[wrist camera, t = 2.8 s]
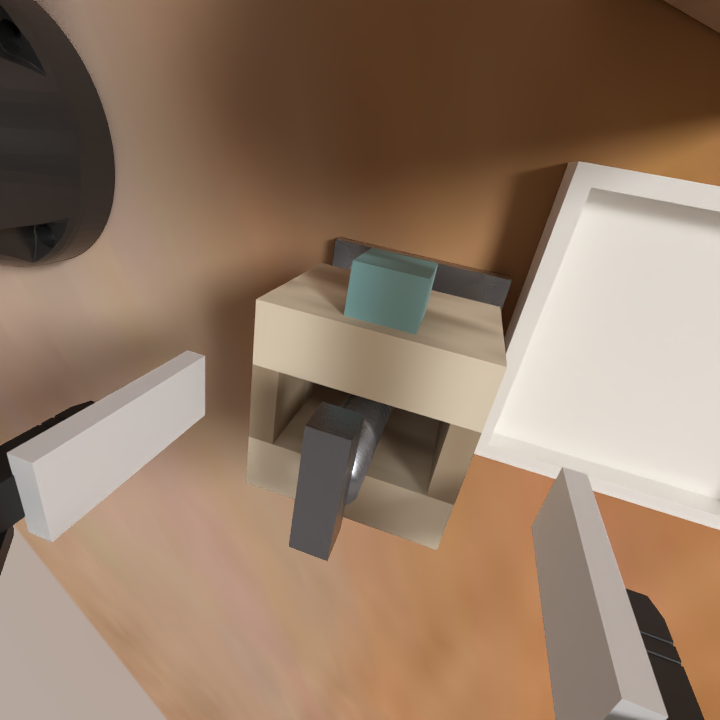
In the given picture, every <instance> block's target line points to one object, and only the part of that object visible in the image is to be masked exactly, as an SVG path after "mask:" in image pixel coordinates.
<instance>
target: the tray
mask: <svg viewBox="0 0 720 720" xmlns="http://www.w3.org/2000/svg"><path fill="white" fill-rule="evenodd" d="M504 344H505V353H506V361H507V369H506V371H505V374H504V377H503V379H502V382H501V384H500V387H499V390H498V392H497V395H496V397H495V400H494V403H493V405H492V408H491V410H490V413H489V416H488V418H487V421H486V423H485V426H484V429H483V431H482V434H481V436H480V439H479V441H478V444H477V447H476V449H475V452H474V454H477V455H480V456H483V457H486V458H490V459H493V460H496V461H499V462H503V463H506V464H509V465H512V466H515V467H519V468H522V469H525V470H528V471H532V472H535V473H538V474H541V475H544V476H548V477H551V478H554V479H556V478H557V476H558V474H559V472H560V470H561V468H562V467H565V468H568V469H571V470H575V471H578V472H581V473H584V474H587V475H588V478H589V481H590V484H591V487H592V490H593V491H596V492H599V493H602V494H606V495H609V496H612V497H615V498H619V499H622V500H625V501H628V502H631V503H635V504H638V505H641V506H644V507H648V508H651V509H654V510H657V511H660V512H664V513H667V514H670V515H673V516H677V517H680V518H683V519H686V520H689V521H693V522H696V523H699V524H702V525H706V526H709V527H712V528H715V529H718V530H720V186H714V185H708V184H703V183H697V182H692V181H686V180H681V179H675V178H670V177H664V176H658V175H653V174H647V173H642V172H636V171H631V170H625V169H620V168H614V167H609V166H603V165H597V164H592V163H586V162H581V161H576V162H569V163H568V165H567V168H566V171H565V174H564V176H563V179H562V182H561V184H560V187H559V190H558V193H557V195H556V198H555V201H554V203H553V206H552V209H551V212H550V214H549V217H548V220H547V223H546V225H545V228H544V231H543V233H542V236H541V239H540V242H539V244H538V247H537V250H536V252H535V255H534V258H533V261H532V263H531V266H530V269H529V272H528V274H527V277H526V280H525V282H524V285H523V288H522V291H521V293H520V296H519V299H518V301H517V304H516V307H515V310H514V312H513V315H512V318H511V321H510V323H509V326H508V329H507V331H506V334H505V337H504Z"/></svg>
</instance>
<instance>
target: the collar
mask: <svg viewBox="0 0 720 720" xmlns="http://www.w3.org/2000/svg"><path fill="white" fill-rule="evenodd" d="M437 267H438V263H435V262H431V261H427V260H422V259H418V258H414V257H410V256H405V255H401V254H397V253H393V252H388V251H384V250H380V249H376V248H371V249H369V250H368V251H366V252H365V253H363V254H362V255H360V256H359V257H357V258H356V259H354V260H353V262H352V268H351V270H348V269H344V268H340V267H336V266H332V265H328V264H324V263H321V264H319V265H317V266H316V267H314V268H312V269H310V270H308V271H307V272H305V273H303V274H301V275H299V276H297V277H296V278H294V279H292V280H290V281H288V282H287V283H285V284H283V285H281V286H279V287H277V288H276V289H274V290H272V291H270V292H268V293H267V294H265V295H263V296H261V297H259V298H257V299H256V311H255V329H254V348H253V366H252V385H251V403H250V422H249V440H248V459H247V477H246V482H247V483H249V484H252V485H255V486H258V487H261V488H263V489H266V490H269V491H272V492H275V493H277V494H280V495H283V496H286V497H289V498H291V499H294V500H295V497H296V489H297V481H298V474H299V466H300V459H301V451H302V444H303V436H304V429H305V425H306V424H307V422H308V421H309V419H310V418H311V417H312V415H313V414H314V412H315V411H316V409H317V408H318V407H319V405H320V404H321V402H322V401H323V402H326V403H329V404H332V405H336V406H339V407H341V406H342V404H343V403H344V401H345V399H346V398H347V396H348V394H349V393H350V394H354V395H357V396H360V397H364V398H367V399H370V400H374V401H377V402H380V403H384V404H387V405H390V406H393V407H392V410H391V412H390V415H389V417H388V420H387V422H386V425H385V427H384V430H383V432H382V435H381V438H380V440H379V443H378V445H377V448H376V450H375V453H374V455H373V458H372V460H371V463H370V465H369V468H368V470H367V473H366V475H365V478H364V481H363V483H362V486H361V488H360V491H359V493H358V496H357V497H356V499H355V500H354V501H353V502H352V503H350V504H348V505H345V510H344V514H343V517H345V518H348V519H350V520H353V521H356V522H359V523H362V524H364V525H367V526H370V527H373V528H376V529H378V530H381V531H384V532H387V533H390V534H392V535H395V536H398V537H401V538H404V539H406V540H409V541H412V542H415V543H418V544H421V545H423V546H426V547H429V548H432V549H435V550H437V548H438V545H439V543H440V540H441V537H442V535H443V532H444V530H445V527H446V525H447V522H448V519H449V517H450V514H451V512H452V509H453V506H454V504H455V501H456V499H457V496H458V493H459V491H460V488H461V486H462V483H463V480H464V478H465V475H466V473H467V470H468V467H469V465H470V462H471V460H472V457H473V454H474V452H475V449H476V447H477V444H478V441H479V439H480V436H481V434H482V431H483V429H484V426H485V423H486V421H487V418H488V416H489V413H490V410H491V408H492V405H493V403H494V400H495V397H496V395H497V392H498V390H499V387H500V384H501V382H502V379H503V377H504V374H505V371H506V369H507V361H506V353H505V344H504V335H503V327H502V318H501V309H500V307H498V306H494V305H490V304H486V303H482V302H478V301H474V300H470V299H466V298H462V297H458V296H454V295H449V294H445V293H441V292H437V291H433V290H432V286H433V282H434V278H435V274H436V271H437Z"/></svg>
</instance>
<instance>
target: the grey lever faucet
mask: <svg viewBox="0 0 720 720" xmlns="http://www.w3.org/2000/svg"><path fill="white" fill-rule="evenodd" d="M371 248H376V249H380V250H384V251H388V252H393V253H397V254H401V255H405V256H410V257H414V258H418V259H422V260H427V261H431V262H435V263H438V267H437V271H436V274H435V278H434V282H433V286H432V290H433V291H437V292H441V293H445V294H449V295H454V296H458V297H462V298H466V299H470V300H474V301H478V302H482V303H486V304H490V305H494V306H498V307H500V309H501V310H502V307H503V305H504V302H505V299H506V296H507V293H508V290H509V287H510V285H511V282H512V279H511V277H510V276H505V275H501V274H497V273H492V272H488V271H484V270H479V269H475V268H471V267H467V266H462V265H458V264H454V263H449V262H445V261H441V260H437V259H432V258H428V257H424V256H419V255H415V254H411V253H406V252H402V251H398V250H394V249H389V248H385V247H381V246H376V245H372V244H368V243H363V242H359V241H355V240H351V239H346V238H342V237H340V238H338V239H336V242H335V249H334V256H333V264H332V266H336V267H340V268H344V269H348V270H351V268H352V262H353V260H354V259H356V258H357V257H359V256H360V255H362V254H363V253H365V252H366V251H368V250H369V249H371ZM392 407H393V406H390V405H387V404H384V403H380V402H377V401H374V400H370V399H367V398H364V397H360V396H357V395H354V394H350V393H349V394H348V396H347V398H346V399H345V401H344V403H343V404H342V406H341V407H339V406H336V405H332V404H329V403H326V402H323V401H322V402H321V404H320V405H319V407H318V408H317V409H316V411H315V412H314V414H313V415H312V417H311V418H310V419H309V421H308V422H307V424H306V425H305V429H304V436H303V444H302V451H301V459H300V466H299V474H298V481H297V489H296V497H295V504H294V512H293V519H292V527H291V534H290V542H289V547H292V548H294V549H297V550H299V551H302V552H305V553H307V554H310V555H313V556H315V557H318V558H321V559H323V560H326V561H328V558H329V556H330V553H331V551H332V548H333V546H334V543H335V541H336V538H337V536H338V534H339V531H340V528H341V524H342V519H343V514H344V510H345V505H348V504H350V503H352V502H353V501H354V500H355V499H356V497H357V496H358V493H359V491H360V488H361V486H362V483H363V481H364V478H365V475H366V473H367V470H368V468H369V465H370V463H371V460H372V458H373V455H374V453H375V450H376V448H377V445H378V443H379V440H380V438H381V435H382V432H383V430H384V427H385V425H386V422H387V420H388V417H389V415H390V412H391V410H392Z"/></svg>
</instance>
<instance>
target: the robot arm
mask: <svg viewBox="0 0 720 720" xmlns="http://www.w3.org/2000/svg"><path fill="white" fill-rule="evenodd" d="M114 183H115V167H114V155H113V147H112V141H111V136H110V131H109V127H108V123H107V120H106V116H105V113H104V110H103V107H102V104H101V101H100V98H99V96H98V93H97V91H96V88H95V86H94V84H93V81H92V79H91V77H90V75H89V73H88V71H87V69H86V67H85V65H84V63H83V62H82V60H81V58H80V56H79V55H78V53H77V51H76V50H75V48H74V47H73V45H72V44H71V42H70V41H69V39H68V38H67V36H66V35H65V34H64V32H63V31H62V30H61V28H60V27H59V26H58V25H57V24H56V22H55V21H54V20H53V19H52V18H51V17H50V16H49V14H48V13H47V12H46V11H45V10H44V9H43V8H42V7H41V6H40V5H39V4H38V3H37V2H35V1H34V0H0V265H5V266H17V267H24V266H37V265H42V264H47V263H52V262H57V261H62V260H66V259H70V258H73V257H75V256H77V255H79V254H81V253H83V252H84V251H86V250H87V249H88V248H89V247H90V246H91V245H92V244H93V243H94V242H95V241H96V240H97V238H98V237H99V236H100V234H101V232H102V231H103V229H104V227H105V224H106V222H107V220H108V217H109V214H110V210H111V206H112V201H113V195H114ZM203 416H205V356H204V355H201V354H198V353H195V352H192V351H188V350H187V351H185V352H184V353H182V354H180V355H178V356H177V357H175V358H173V359H171V360H169V361H168V362H166V363H164V364H162V365H161V366H159V367H157V368H155V369H154V370H152V371H150V372H148V373H147V374H145V375H143V376H141V377H140V378H138V379H136V380H134V381H132V382H131V383H129V384H127V385H125V386H124V387H122V388H120V389H118V390H117V391H115V392H113V393H111V394H110V395H108V396H106V397H104V398H103V399H101V400H99V401H97V402H93V401H89V402H86V403H83V404H79V405H76V406H73V407H70V408H69V409H67V410H65V411H63V412H61V413H59V414H58V415H56V416H55V418H50V419H48V420H47V421H45V422H43V423H42V424H41V425H40V426H39V425H37V426H36V427H34V428H32V429H30V430H28V431H26V432H25V433H23V434H21V435H19V436H17V437H15V438H14V439H12V440H10V441H8V442H6V443H4V444H3V445H1V446H0V575H1V572H2V569H3V566H4V562H5V560H6V556H7V553H8V551H9V548H10V544H11V542H12V539H13V535H14V528H13V525H14V524H15V523H17V522H18V521H19V520H21V519H22V518H23V517H25V520H26V524H27V527H28V531H29V533H32V534H34V535H36V536H39V537H41V538H43V539H45V540H48V541H50V542H53V541H54V540H55V539H57V538H58V537H59V536H60V535H61V534H63V533H64V532H65V531H66V530H67V529H69V528H70V527H71V526H72V525H73V524H75V523H76V522H77V521H78V520H79V519H81V518H82V517H83V516H84V515H85V514H87V513H88V512H89V511H90V510H91V509H93V508H94V507H95V506H96V505H97V504H99V503H100V502H101V501H102V500H103V499H105V498H106V497H107V496H108V495H109V494H111V493H112V492H113V491H114V490H115V489H117V488H118V487H119V486H120V485H121V484H123V483H124V482H125V481H126V480H128V479H129V478H130V477H131V476H132V475H134V474H135V473H136V472H137V471H138V470H140V469H141V468H142V467H143V466H144V465H146V464H147V463H148V462H149V461H150V460H152V459H153V458H154V457H155V456H156V455H158V454H159V453H160V452H161V451H162V450H164V449H165V448H166V447H167V446H168V445H170V444H171V443H172V442H173V441H174V440H176V439H177V438H178V437H179V436H180V435H182V434H183V433H184V432H185V431H186V430H188V429H189V428H190V427H191V426H192V425H194V424H195V423H196V422H197V421H198V420H200V419H201V418H202V417H203ZM532 534H533V542H534V550H535V558H536V566H537V574H538V582H539V591H540V599H541V607H542V615H543V623H544V631H545V639H546V647H547V655H548V663H549V671H550V679H551V687H552V695H553V703H554V711H555V720H704V717H703V715H702V712H701V710H700V707H699V705H698V702H697V700H696V697H695V695H694V692H693V690H692V687H691V685H690V682H689V680H688V677H687V675H686V672H685V670H684V667H683V666H681V660H680V657H679V655H678V652H677V650H676V647H674V646H673V640H672V637H671V635H670V632H669V630H668V627H667V625H666V622H665V620H664V618H663V617H662V615H661V614H660V613H659V611H658V610H657V608H656V607H655V606H654V604H653V603H652V602H651V600H650V599H649V598H648V596H646V595H643V594H640V593H637V592H634V591H631V590H629V589H626V588H625V586H624V583H623V580H622V577H621V574H620V571H619V568H618V565H617V562H616V559H615V556H614V553H613V550H612V547H611V544H610V541H609V538H608V535H607V532H606V529H605V526H604V523H603V520H602V517H601V514H600V511H599V508H598V505H597V502H596V499H595V496H594V493H593V490H592V487H591V484H590V481H589V478H588V475H587V474H584V473H581V472H578V471H575V470H571V469H568V468H565V467H562V468H561V470H560V472H559V474H558V476H557V478H556V480H555V482H554V484H553V486H552V488H551V490H550V491H549V493H548V495H547V497H546V499H545V501H544V503H543V505H542V507H541V509H540V511H539V513H538V515H537V517H536V518H535V520H534V522H533V524H532Z"/></svg>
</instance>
